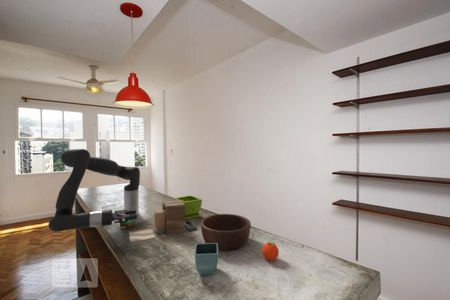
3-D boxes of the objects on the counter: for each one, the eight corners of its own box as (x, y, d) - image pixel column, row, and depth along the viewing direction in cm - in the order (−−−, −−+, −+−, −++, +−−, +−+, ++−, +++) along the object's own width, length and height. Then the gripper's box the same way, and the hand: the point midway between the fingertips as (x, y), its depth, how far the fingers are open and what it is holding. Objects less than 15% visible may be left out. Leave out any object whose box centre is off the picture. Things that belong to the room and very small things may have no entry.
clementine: (267, 252, 96) (268, 237, 96) (282, 257, 92) (282, 241, 91) (259, 259, 90) (259, 243, 90) (274, 265, 85) (274, 248, 85)
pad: (128, 232, 118) (128, 231, 118) (151, 228, 123) (151, 228, 123) (130, 242, 105) (130, 242, 105) (155, 237, 111) (155, 237, 111)
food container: (128, 231, 119) (127, 213, 118) (118, 230, 120) (118, 213, 120) (140, 223, 131) (140, 207, 130) (132, 222, 132) (132, 206, 132)
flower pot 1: (184, 222, 133) (184, 202, 133) (173, 216, 144) (173, 197, 144) (202, 217, 143) (202, 198, 142) (191, 212, 153) (191, 194, 153)
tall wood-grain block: (154, 229, 120) (154, 210, 120) (180, 225, 127) (180, 206, 127) (156, 234, 114) (156, 213, 114) (183, 229, 121) (183, 210, 121)
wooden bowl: (255, 235, 114) (255, 216, 114) (243, 258, 91) (243, 235, 91) (212, 229, 123) (212, 211, 122) (191, 249, 99) (191, 227, 99)
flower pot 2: (195, 265, 86) (195, 243, 85) (217, 264, 86) (217, 242, 86) (194, 278, 77) (194, 254, 77) (218, 277, 78) (218, 253, 77)
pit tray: (182, 223, 130) (182, 221, 130) (190, 222, 133) (190, 220, 132) (188, 231, 120) (188, 228, 120) (196, 229, 122) (196, 226, 122)
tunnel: (162, 227, 125) (162, 201, 125) (179, 224, 129) (179, 199, 129) (166, 235, 114) (166, 206, 114) (184, 231, 119) (184, 204, 118)
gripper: (100, 214, 99) (137, 210, 106) (102, 207, 111) (135, 203, 119) (100, 230, 99) (137, 225, 106) (102, 221, 111) (135, 217, 119)
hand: (136, 214), depth 112 cm, fingers open, 8 cm apart
